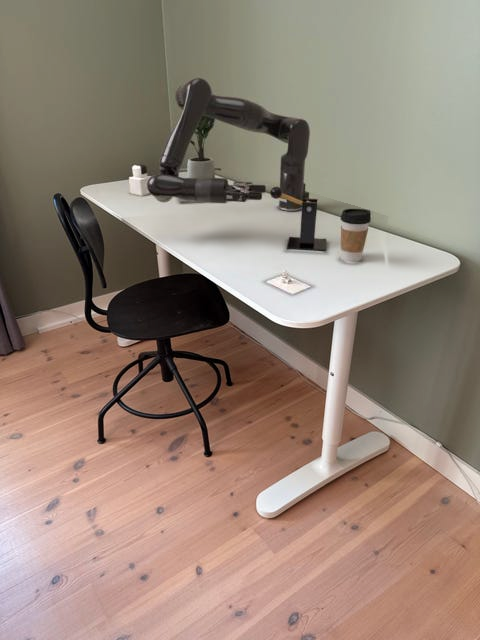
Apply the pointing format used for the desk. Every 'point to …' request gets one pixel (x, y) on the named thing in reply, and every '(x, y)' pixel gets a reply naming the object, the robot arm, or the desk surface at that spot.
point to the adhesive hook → (288, 283)
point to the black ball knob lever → (283, 195)
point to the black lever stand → (307, 230)
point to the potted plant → (201, 156)
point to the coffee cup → (354, 233)
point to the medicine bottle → (139, 180)
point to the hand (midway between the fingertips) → (263, 192)
